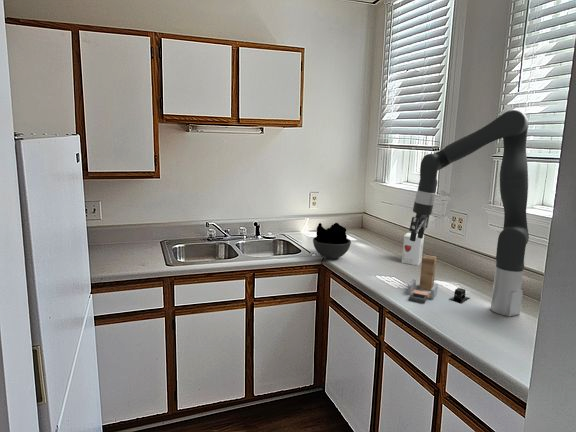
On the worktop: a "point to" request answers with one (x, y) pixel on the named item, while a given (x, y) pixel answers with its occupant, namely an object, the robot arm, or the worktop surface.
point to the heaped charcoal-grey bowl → (331, 241)
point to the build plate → (459, 296)
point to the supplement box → (412, 250)
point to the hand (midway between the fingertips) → (416, 239)
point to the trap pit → (418, 298)
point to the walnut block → (427, 272)
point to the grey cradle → (430, 295)
